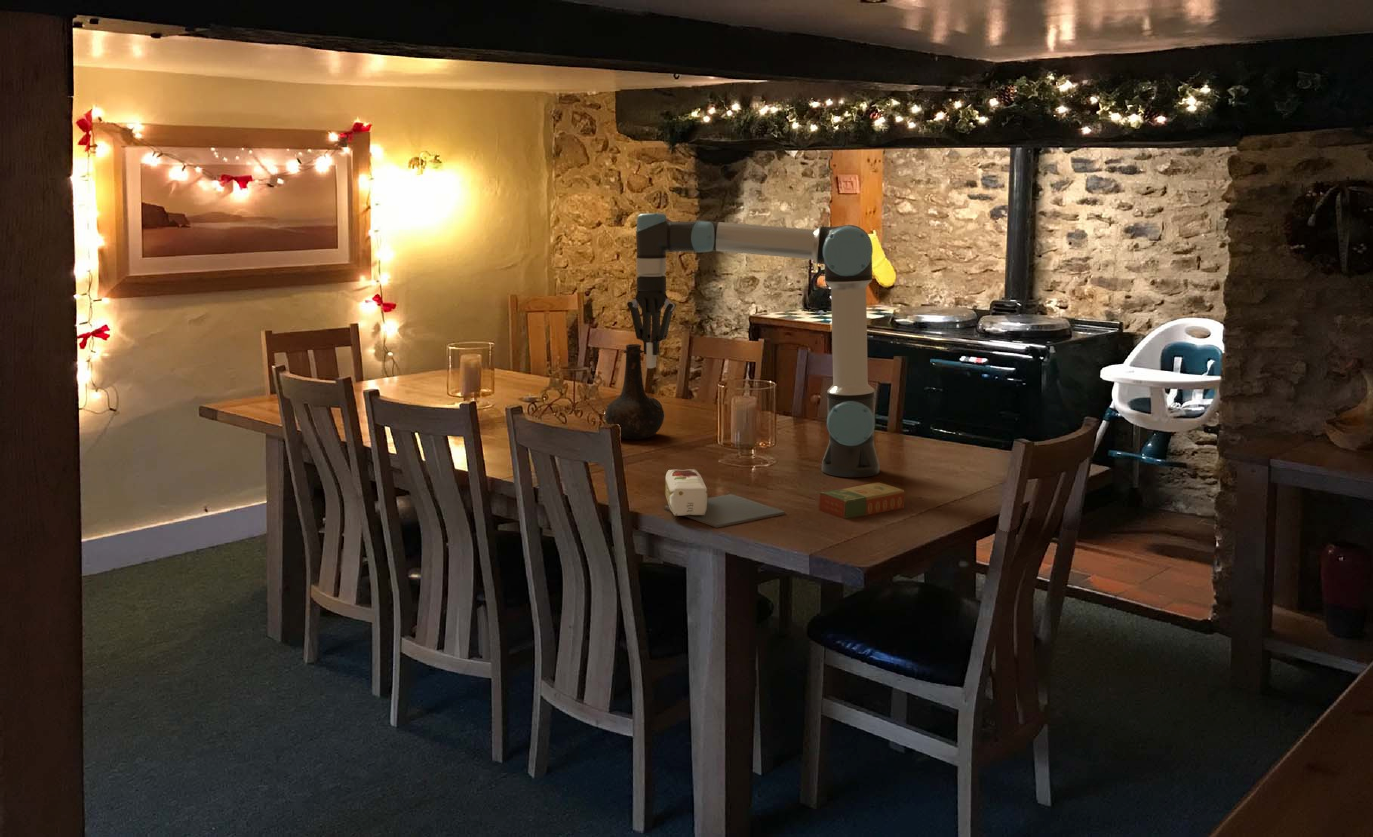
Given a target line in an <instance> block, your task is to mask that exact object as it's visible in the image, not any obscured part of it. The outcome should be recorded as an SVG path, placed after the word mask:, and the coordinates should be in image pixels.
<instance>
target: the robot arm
mask: <svg viewBox="0 0 1373 837" xmlns="http://www.w3.org/2000/svg"><path fill="white" fill-rule="evenodd" d="M635 235H636V243H635V244H636V268H635V269H636V270H635V271H636V274H637V276H636V295H635V296H634V299H632V300H631V301H627V303H626V306H627V307H628V309H629V310H630V314H631V319H632V324H633V328H634V333H635V337H636V339H637V340H640V341H642V342H643V351H644V352H643V354H644V355H646V369H654V368H657V356H658V355H660V342H662V341H665V340H667V337H668V332H669V329H670V323H671V319H672V315H673V311H674V310H675V308H676V307H677V304H676V303H675V302H672V301H670V300H669V298H668V295H667V277H666V275H665V274H667V252H671V253H672V252H683V253H691V252H692V253H699V254H701V253H709V252H725V253H735V254H746V255H759V256H769V257H770V256H771V257H782V258H792V259H793V258H794V259H804V260H805V259H807V260H813V262H814V263H815V264H816V265H817V264H818V265H824V283H825V284H826V285H827V286H828V287H829V288H830V294H831V295H830V296H831V297H830V298H831V339H832V340H831V341H832V343H831V344H832V345H831V346H832V347H831V348H832V381H833V382H832V385H830V387H829V388H828V389H827V392H826V393H827V396H826V397H827V418H826V429H827V431H828V433H829V435H828V441H829V442H828V444H827V447H826V449H825V452H824V456H823V458H822V461H821V471H822V472H823V473H825V474H827V475H829V476H834V477H841V478H867V477H872V476H876V475H878V474H879V473H880V462H879V458H878V455H877V451H876V448H875V445H874V444H875V443H874V440H875V437H874V435H875V428H876V418H875V412H876V411H875V407H876V398H877V396H876V389H875V388H874V387H873V386H871V385H870V384H869V383H868V382H869V381H868V380H869V379H868V375H869V374H868V372H869V371H868V368H869V367H868V324H867V323H868V322H867V321H868V320H867V319H868V318H867V317H868V316H867V310H868V309H867V287H868V286H869V285H870V283H872V281H873V244H872V240H871V237H870V235H869V234H868V232H867V231H866V230H864V229H863V228H861V227H859V226H856V225H854V224H853V225H852V224H847V225H845V224H844V225H839V226H826V225H825V226H823V225H821V226H820V225H819V226H818V227H816V228H815V229H811V228H798V227H788V226H787V227H786V226H775V225H773V226H772V225H761V224H748V223H738V222H736V223H735V222H724V221H723V222H722V221H709V220H704V219H695V220H691V221H690V220H689V221H671V220H668V219H667V215H666V214H665V213H663V212H662V213H661V212H659V213H658V212H657V213H653V212H652V213H651V212H650V213H649V212H647V213H640V214H638V215H637V218H636V230H635ZM639 307H640V308H641V313H640V309H639ZM663 307H664V311H663V315H662V318H661V314H662V309H663ZM641 316H642V317H641Z"/></svg>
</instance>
